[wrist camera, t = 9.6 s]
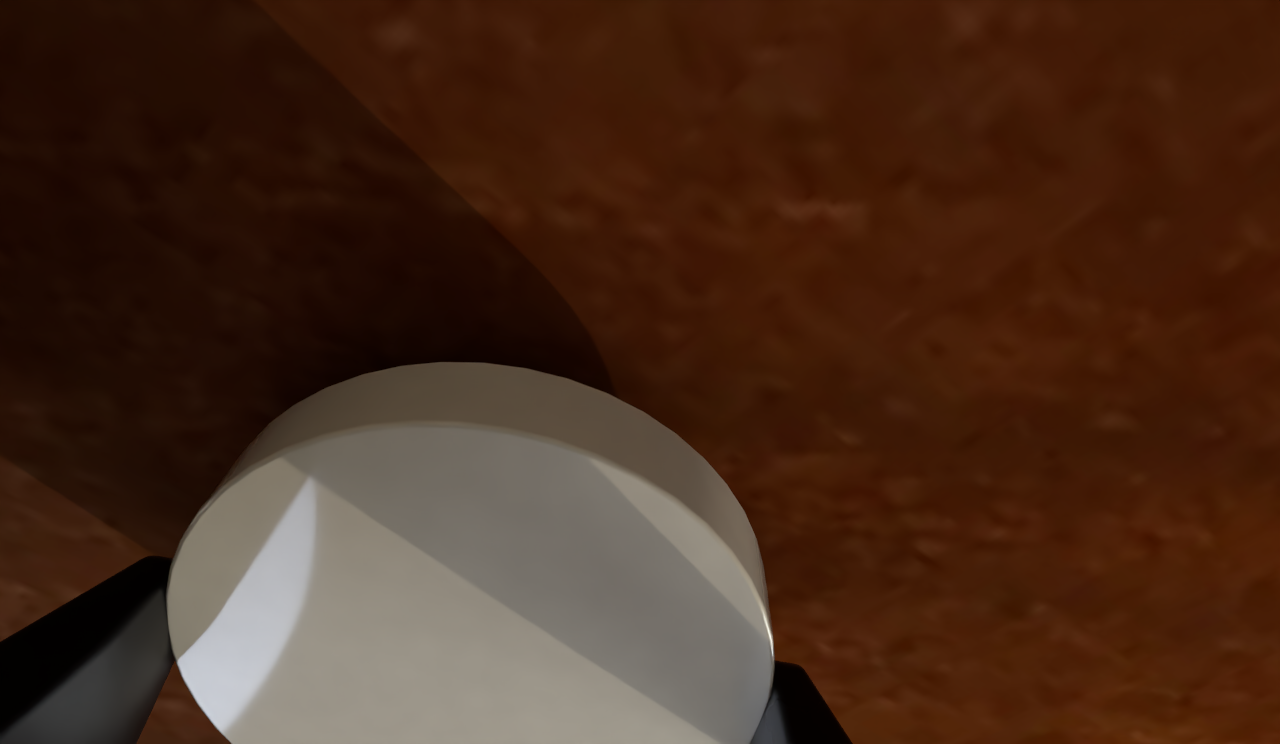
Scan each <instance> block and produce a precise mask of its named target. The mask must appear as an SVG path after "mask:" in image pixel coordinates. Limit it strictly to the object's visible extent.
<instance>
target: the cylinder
mask: <svg viewBox="0 0 1280 744" xmlns="http://www.w3.org/2000/svg"><path fill="white" fill-rule="evenodd" d="M165 596H166V607H167V618H168V627H169V635H170V642H171V649H172V654H173V656H174V659H175V661H176V664H177V666H178V669H179V671H180V674H181V676H182V679H183V680H184V682H185V684H186V686H187V687H188V689H189V691H190V692H191V694H192V696H193V698H194V699H195V701H196V703H197V704H198V706H199V707H200V708H201V710H202V711H203V712H204V713H205V715H206V716H207V717H208V719H209V720H210V721H211V722H212V724H213V725H214V726H215V728H216V729H217V730H218V731H219V732H220V733H221V734H222V735H223V736H224V737H225V738H226V739H227V740H228V741H229V742H230V743H231V744H750V743H751V741H752V739H753V736H754V734H755V732H756V730H757V727H758V725H759V723H760V720H761V718H762V715H763V713H764V711H765V708H766V706H767V703H768V701H769V698H770V696H771V692H772V687H773V679H774V670H775V657H774V643H773V633H772V625H771V618H770V610H769V603H768V595H767V588H766V581H765V573H764V566H763V562H762V558H761V555H760V551H759V547H758V543H757V539H756V537H755V534H754V532H753V530H752V528H751V525H750V523H749V521H748V519H747V516H746V514H745V512H744V510H743V509H742V507H741V505H740V504H739V502H738V501H737V499H736V498H735V496H734V495H733V493H732V492H731V490H730V488H729V487H728V485H727V484H726V483H725V482H724V480H723V479H722V478H721V477H720V476H719V475H718V474H717V472H716V471H715V470H714V469H713V468H712V467H711V466H710V464H709V463H708V462H707V461H706V460H705V459H704V458H703V457H702V456H701V455H700V454H699V453H698V452H697V451H696V450H694V449H693V448H692V447H691V446H690V445H689V444H687V443H686V442H685V441H684V440H683V439H682V438H681V437H679V436H678V435H677V434H676V433H675V432H673V431H672V430H670V429H669V428H667V427H666V426H664V425H663V424H661V423H660V422H658V421H657V420H655V419H654V418H652V417H651V416H649V415H648V414H646V413H645V412H643V411H642V410H640V409H638V408H636V407H634V406H632V405H630V404H628V403H626V402H624V401H622V400H620V399H618V398H616V397H614V396H612V395H610V394H608V393H606V392H603V391H601V390H598V389H595V388H593V387H590V386H587V385H585V384H582V383H579V382H576V381H574V380H571V379H568V378H565V377H561V376H557V375H553V374H549V373H544V372H540V371H536V370H532V369H528V368H522V367H515V366H507V365H500V364H492V363H485V362H434V363H424V364H414V365H403V366H398V367H394V368H389V369H385V370H380V371H376V372H371V373H367V374H363V375H360V376H357V377H354V378H351V379H349V380H346V381H343V382H341V383H338V384H335V385H332V386H330V387H327V388H325V389H323V390H321V391H319V392H317V393H315V394H313V395H312V396H310V397H308V398H306V399H304V400H302V401H300V402H299V403H297V404H295V405H293V406H292V407H291V408H289V409H288V410H287V411H285V412H284V413H283V414H281V415H280V416H279V417H277V418H276V419H275V420H273V421H272V422H271V423H269V424H268V425H267V426H266V427H265V428H264V429H263V430H262V431H261V432H260V433H259V434H258V435H257V437H256V438H255V439H254V440H253V441H252V442H251V443H250V444H249V445H248V446H247V447H246V448H245V450H244V451H243V452H242V453H241V455H240V456H239V457H238V459H237V460H236V461H235V463H234V464H233V465H232V467H231V468H230V469H229V471H228V472H227V473H226V475H225V476H224V477H223V479H222V480H221V481H220V483H219V484H218V485H217V487H216V488H215V489H214V491H213V492H212V493H211V495H210V496H209V497H208V499H207V500H206V501H205V503H204V504H203V505H202V506H201V508H200V509H199V511H198V512H197V514H196V515H195V517H194V518H193V520H192V521H191V523H190V524H189V526H188V527H187V529H186V531H185V532H184V534H183V535H182V537H181V539H180V542H179V544H178V547H177V549H176V552H175V554H174V557H173V559H172V562H171V565H170V571H169V576H168V582H167V588H166V594H165Z"/></svg>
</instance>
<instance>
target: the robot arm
mask: <svg viewBox="0 0 1280 744" xmlns="http://www.w3.org/2000/svg"><path fill="white" fill-rule="evenodd" d="M171 562H172V558H166V557H160V556H148V557H145V558H143V559H141V560H139V561H137V562H136V563H134V564H132V565H131V566H129V567H127V568H126V569H124V570H122V571H120V572H119V573H117V574H115V575H114V576H112V577H110V578H108V579H107V580H105V581H103V582H102V583H100V584H98V585H97V586H95V587H93V588H91V589H90V590H88V591H86V592H85V593H83V594H81V595H79V596H78V597H76V598H74V599H73V600H71V601H69V602H68V603H66V604H64V605H62V606H61V607H59V608H57V609H56V610H54V611H52V612H50V613H49V614H47V615H45V616H44V617H42V618H40V619H39V620H37V621H35V622H33V623H32V624H30V625H28V626H27V627H25V628H23V629H21V630H20V631H18V632H16V633H15V634H13V635H11V636H10V637H8V638H6V639H4V640H3V641H1V642H0V744H136V743H137V741H138V739H139V736H140V734H141V732H142V730H143V728H144V726H145V724H146V721H147V719H148V717H149V715H150V713H151V711H152V709H153V706H154V704H155V702H156V700H157V698H158V696H159V693H160V691H161V689H162V687H163V685H164V683H165V681H166V678H167V676H168V674H169V672H170V670H171V668H172V665H173V663H174V661H175V659H174V656H173V654H172V649H171V642H170V635H169V627H168V618H167V607H166V596H165V594H166V588H167V582H168V576H169V571H170V565H171ZM750 744H852V742H851V741H850V739H849V737H848V736H847V734H846V733H845V731H844V730H843V728H842V727H841V725H840V724H839V722H838V721H837V719H836V718H835V716H834V714H833V713H832V711H831V710H830V708H829V707H828V705H827V704H826V702H825V701H824V699H823V698H822V696H821V695H820V693H819V691H818V690H817V688H816V687H815V685H814V684H813V682H812V681H811V679H810V678H809V676H808V675H807V673H806V672H805V670H804V669H803V668H802V667H801V666H799V665H797V664H793V663H787V662H781V661H775V670H774V679H773V687H772V692H771V696H770V698H769V701H768V703H767V706H766V708H765V711H764V713H763V715H762V718H761V720H760V723H759V725H758V727H757V730H756V732H755V734H754V736H753V739H752V741H751V743H750Z"/></svg>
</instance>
